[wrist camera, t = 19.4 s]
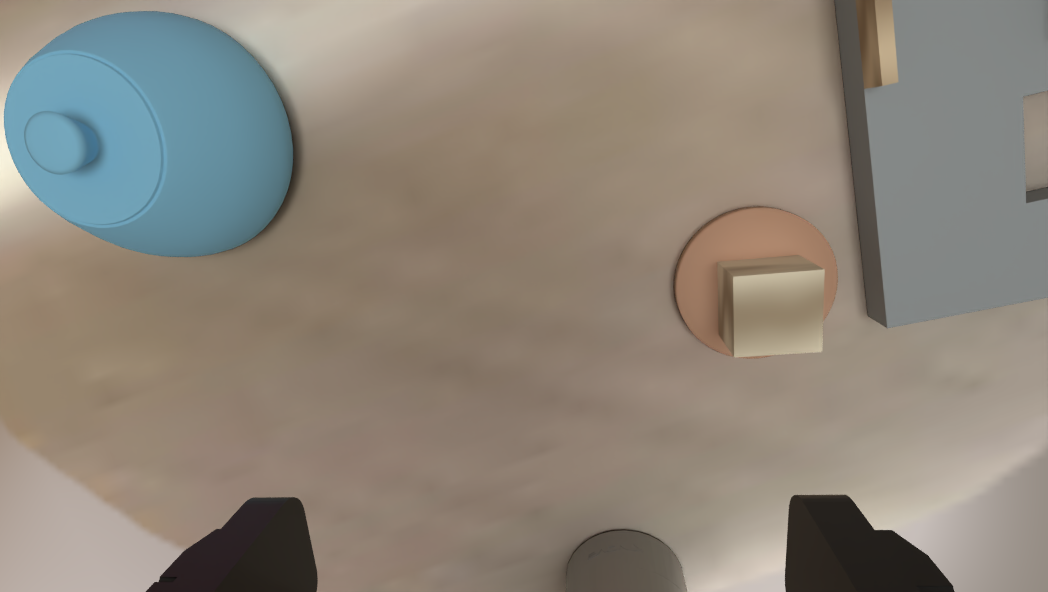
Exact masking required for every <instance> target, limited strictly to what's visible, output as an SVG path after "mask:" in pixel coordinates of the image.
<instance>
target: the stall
mask: <svg viewBox="0 0 1048 592" xmlns="http://www.w3.org/2000/svg"><path fill="white" fill-rule="evenodd" d="M856 10H857V20H858V30H859V41H860V51H861V61H862V72H863V82H864V89H867V88H873V87H880V86H885V85H889V84H893V83H897V82H899V81H898V69H897V57H896V45H895V33H894V20H893V8H892V0H856Z"/></svg>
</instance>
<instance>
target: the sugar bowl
mask: <svg viewBox="0 0 1048 592" xmlns="http://www.w3.org/2000/svg"><path fill="white" fill-rule="evenodd" d="M4 128H5V135H6V140H7V144H8V148H9V151H10V154H11V156H12V159H13V162H14V164H15V166H16V168H17V170H18V172H19V173H20V175H21V177H22V178H23V180H24V181H25V183H26V184H27V185H28V187H29V188H30V189H31V191H32V192H33V193H34V194H35V195H36V196H37V197H38V198H39V199H40V200H41V201H42V202H43V203H44V204H45V205H46V206H48V207H49V208H50V209H51V210H53V211H54V212H56V213H57V214H58V215H60V216H61V217H63V218H64V219H65V220H67V221H68V222H70V223H72V224H74V225H76V226H77V227H79V228H81V229H83V230H85V231H87V232H89V233H91V234H92V235H94V236H96V237H98V238H100V239H103V240H105V241H108V242H110V243H113V244H115V245H118V246H120V247H123V248H126V249H130V250H133V251H137V252H141V253H146V254H151V255H158V256H169V257H195V256H204V255H211V254H215V253H219V252H223V251H226V250H230V249H233V248H235V247H237V246H240V245H242V244H244V243H246V242H247V241H249V240H250V239H252V238H253V237H255V236H256V235H257V234H259V233H260V232H261V231H262V230H263V229H264V228H265V227H266V226H267V225H268V224H269V222H270V221H271V220H272V219H273V218H274V216H275V215H276V213H277V211H278V210H279V208H280V206H281V205H282V203H283V200H284V198H285V196H286V193H287V191H288V187H289V183H290V180H291V174H292V167H293V144H292V135H291V130H290V126H289V122H288V117H287V114H286V112H285V109H284V106H283V103H282V101H281V98H280V96H279V94H278V92H277V90H276V89H275V87H274V85H273V83H272V82H271V80H270V79H269V77H268V75H267V74H266V72H265V71H264V70H263V69H262V67H261V66H260V65H259V64H258V62H257V61H256V60H255V59H254V58H253V57H252V55H251V54H249V53H248V52H247V51H246V50H245V49H244V48H243V47H242V46H241V45H240V44H239V43H238V42H236V41H235V40H234V39H232V38H231V37H230V36H228V35H227V34H226V33H224V32H222V31H220V30H219V29H217V28H215V27H213V26H211V25H209V24H207V23H204V22H202V21H200V20H197V19H193V18H189V17H186V16H182V15H178V14H173V13H165V12H157V11H139V12H124V13H116V14H111V15H106V16H102V17H99V18H95V19H92V20H90V21H87V22H84V23H82V24H79V25H77V26H75V27H73V28H72V29H70V30H68V31H66V32H65V33H63V34H61V35H60V36H58V37H56V38H55V39H53V40H52V41H51V42H50V43H48V44H47V45H46V46H45V47H44V48H42V49H41V50H40V51H39V52H38V53H36V54H35V55H34V56H33V57H32V58H31V59H29V61H28V62H27V63H26V64H25V65H24V67H23V68H22V69H21V70H20V72H19V73H18V74H17V76H16V77H15V79H14V81H13V82H12V84H11V86H10V89H9V91H8V94H7V98H6V102H5V109H4Z"/></svg>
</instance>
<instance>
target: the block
mask: <svg viewBox="0 0 1048 592" xmlns="http://www.w3.org/2000/svg"><path fill="white" fill-rule="evenodd" d="M717 274H718V326H719V336H720V338H721V339H722V340H723V342H724V343H725V345H726V346H727V348H728V349H729V351H730V352H731V354H732V355H733V357H734V358H735V357H750V356H766V355H782V354H798V353H813V352H822V339H823V307H824V276H825V269H823V268H821V267H820V266H818V265H816V264H814V263H812V262H811V261H809V260H807V259H805V258H803V257H802V256H800V255H792V256H780V257H768V258H756V259H744V260H732V261H720V262H717Z"/></svg>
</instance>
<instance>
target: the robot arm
mask: <svg viewBox="0 0 1048 592" xmlns="http://www.w3.org/2000/svg"><path fill="white" fill-rule="evenodd" d="M785 587H786V592H954V589H953V586H952V584H951V583H950V582H949V581H948V579H947V578H946V577H945V576H944V575H943V573H942V572H941V571H940V570H939V568H938V567H937V566H936V565H935V564H934V562H933V561H932V560H931V559H930V558H929V556H928V555H926V554H925V553H924V552H922V551H921V550H919V549H918V548H916V547H915V546H914V545H912V544H911V543H909V542H908V541H907V540H905V539H904V538H902V537H901V536H899V535H898V534H897V533H895V532H894V531H892V530H874V529H873V527H872V526H871V525H870V523H869V522H868V521H867V519H866V518H865V517H864V515H863V514H862V512H861V511H860V510H859V508H858V507H857V506H856V504H855V503H854V502H853V501H852V499H851V498H850V497H848V496H847V495H794V496H793V497H792V498H791V500H790V505H789V517H788V534H787V551H786V568H785ZM316 591H317V569H316V564H315V559H314V555H313V550H312V545H311V540H310V535H309V531H308V526H307V521H306V516H305V511H304V507H303V505H302V503H301V501H300V500H299V499H298V498H295V497H282V498H251V499H249V500H247V501H246V502H245V503H244V504H243V505H242V506H241V507H240V509H239V510H238V511H237V512H236V513H235V514H234V515H233V516H232V517H231V518H230V520H229V521H228V522H227V523H226V524H225V525H224V526H223V527H222V528H221V529H216V530H214V531H213V532H211V533H210V534H209V535H207V536H206V537H204V538H203V539H201V540H200V541H198V542H197V543H195V544H194V545H192V546H191V547H189V548H188V549H186V550H185V551H184V552H183V553H182V554H181V555H180V556H179V557H178V558H177V559H176V560H175V561H174V562H173V563H172V565H171V566H170V567H169V568H168V569H167V570H166V571H165V572H164V573H163V574H162V575H161V576H160V580H159V582H154V583H153V585H152V586H151V587H150V588H149V589H148V590H147V591H146V592H316ZM566 592H687V588H686V584H685V580H684V575H683V571H682V567H681V565H680V563H679V561H678V559H677V557H676V556H675V555H674V553H673V552H672V551H671V550H670V548H668V547H667V546H666V545H665V544H663V543H662V542H661V541H659V540H657V539H655V538H653V537H651V536H649V535H646V534H643V533H640V532H634V531H626V530H623V531H611V532H607V533H603V534H599V535H597V536H595V537H593V538H591V539H589V540H587V541H586V542H585V543H583V544H582V545H581V546H580V547H579V548H578V549H577V550H576V551H575V553H574V554H573V555H572V557H571V559H570V561H569V563H568V568H567V572H566Z"/></svg>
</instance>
